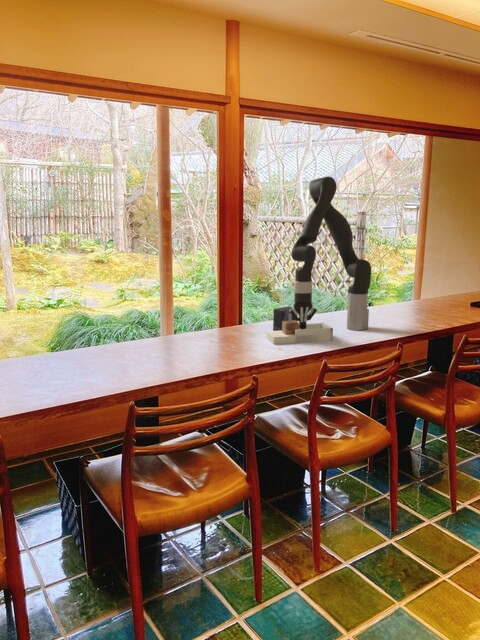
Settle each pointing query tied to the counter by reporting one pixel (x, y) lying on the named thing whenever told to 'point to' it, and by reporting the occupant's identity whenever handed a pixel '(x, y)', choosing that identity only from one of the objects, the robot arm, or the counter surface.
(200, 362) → the counter surface
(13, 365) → the counter surface
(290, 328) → the block
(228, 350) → the counter surface
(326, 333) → the channel
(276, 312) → the small box
